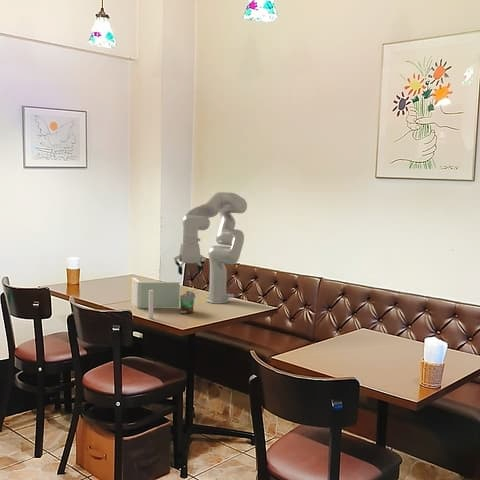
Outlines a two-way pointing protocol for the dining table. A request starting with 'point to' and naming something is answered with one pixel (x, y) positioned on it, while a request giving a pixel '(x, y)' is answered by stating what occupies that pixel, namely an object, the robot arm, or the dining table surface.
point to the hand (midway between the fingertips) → (189, 274)
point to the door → (160, 294)
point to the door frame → (137, 296)
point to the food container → (187, 302)
